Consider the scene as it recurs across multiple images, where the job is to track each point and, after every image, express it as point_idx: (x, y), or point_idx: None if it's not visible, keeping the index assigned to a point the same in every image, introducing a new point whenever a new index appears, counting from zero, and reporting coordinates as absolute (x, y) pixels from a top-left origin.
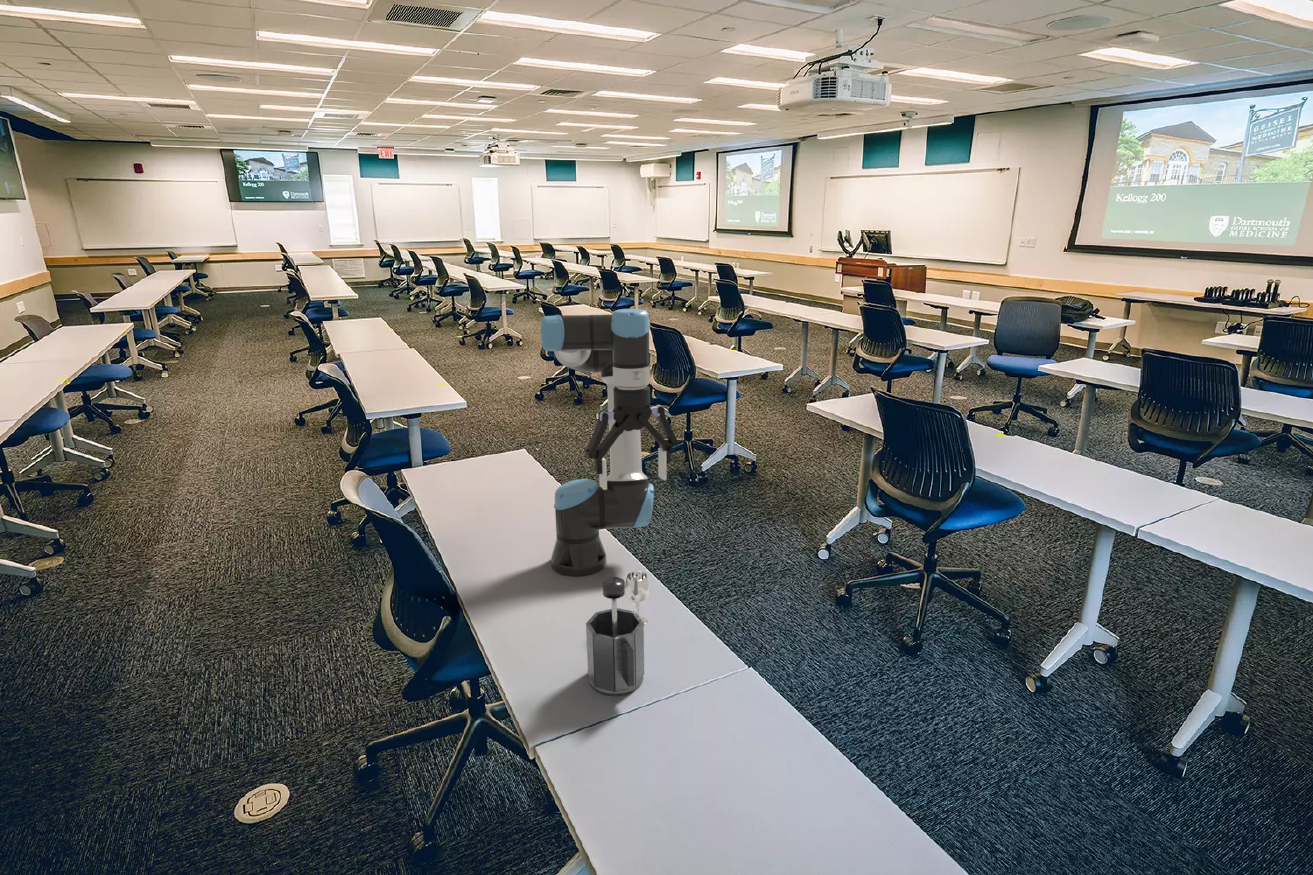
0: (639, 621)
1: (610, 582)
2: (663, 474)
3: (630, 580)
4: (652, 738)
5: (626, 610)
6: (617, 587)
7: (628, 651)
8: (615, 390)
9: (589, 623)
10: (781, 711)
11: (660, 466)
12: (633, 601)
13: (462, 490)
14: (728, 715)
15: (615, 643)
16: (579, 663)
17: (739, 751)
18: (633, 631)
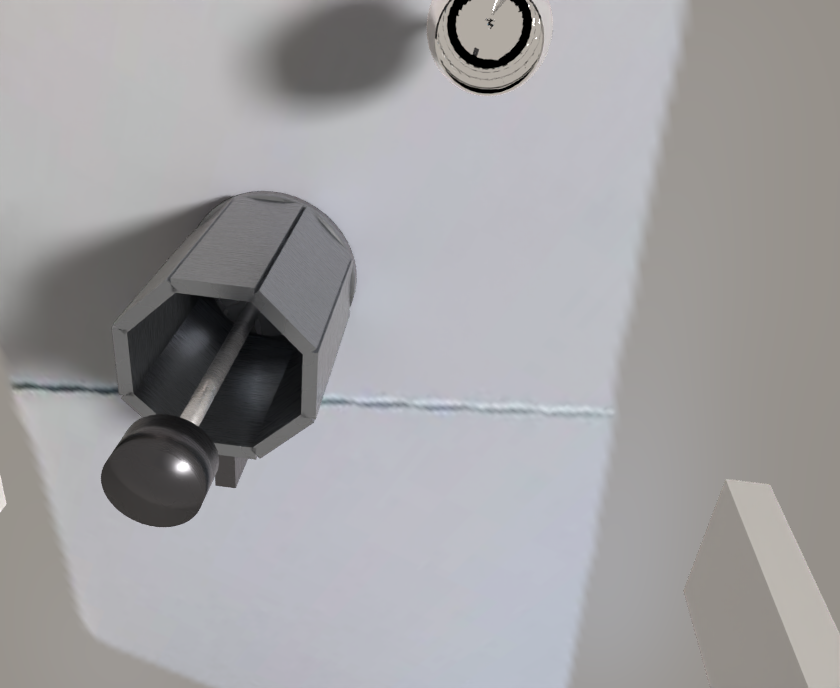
0: (304, 407)
1: (138, 483)
2: (701, 650)
3: (438, 60)
4: (273, 489)
5: (289, 325)
6: (156, 525)
7: (220, 484)
8: None
9: (125, 332)
10: (585, 559)
11: (747, 659)
12: (452, 51)
13: None
14: (469, 515)
15: None
16: (187, 144)
17: (422, 591)
18: (260, 443)
